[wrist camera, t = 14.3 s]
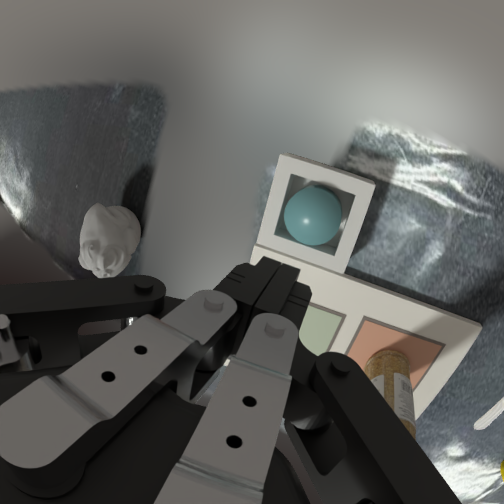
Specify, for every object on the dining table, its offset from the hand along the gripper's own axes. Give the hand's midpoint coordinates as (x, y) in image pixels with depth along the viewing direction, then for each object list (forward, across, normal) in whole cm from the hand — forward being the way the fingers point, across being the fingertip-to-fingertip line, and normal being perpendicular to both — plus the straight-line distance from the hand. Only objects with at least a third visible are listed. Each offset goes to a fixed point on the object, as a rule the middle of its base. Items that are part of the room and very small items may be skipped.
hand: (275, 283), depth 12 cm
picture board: (+14, -7, +12) cm, 20 cm away
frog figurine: (+14, +17, +8) cm, 24 cm away
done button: (+13, 0, 0) cm, 13 cm away
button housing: (+14, 0, 0) cm, 14 cm away
